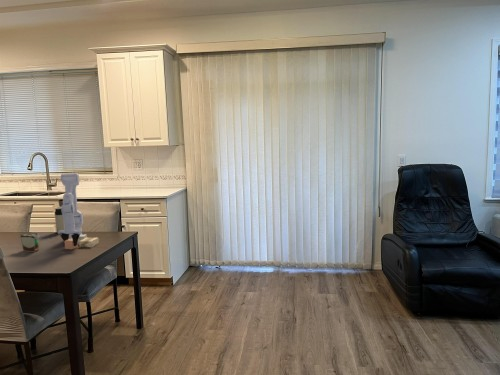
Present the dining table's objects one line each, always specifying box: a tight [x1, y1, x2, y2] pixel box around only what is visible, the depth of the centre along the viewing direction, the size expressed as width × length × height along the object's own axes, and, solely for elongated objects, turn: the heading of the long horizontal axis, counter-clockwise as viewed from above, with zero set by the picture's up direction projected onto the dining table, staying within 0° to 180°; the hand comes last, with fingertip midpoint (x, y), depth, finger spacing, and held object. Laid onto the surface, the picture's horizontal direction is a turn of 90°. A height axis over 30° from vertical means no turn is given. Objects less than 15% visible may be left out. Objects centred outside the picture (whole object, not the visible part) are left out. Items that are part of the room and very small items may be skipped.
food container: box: [19, 232, 40, 253], centre depth 219 cm, size 12×6×10 cm, turn 71°
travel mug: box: [54, 206, 64, 234], centre depth 260 cm, size 8×8×18 cm
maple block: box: [78, 237, 100, 248], centre depth 226 cm, size 8×8×4 cm
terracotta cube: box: [63, 239, 79, 250], centre depth 222 cm, size 5×5×5 cm
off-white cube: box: [78, 233, 88, 245], centre depth 231 cm, size 5×5×5 cm
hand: (71, 245), depth 222 cm, fingers closed on terracotta cube, 5 cm apart
